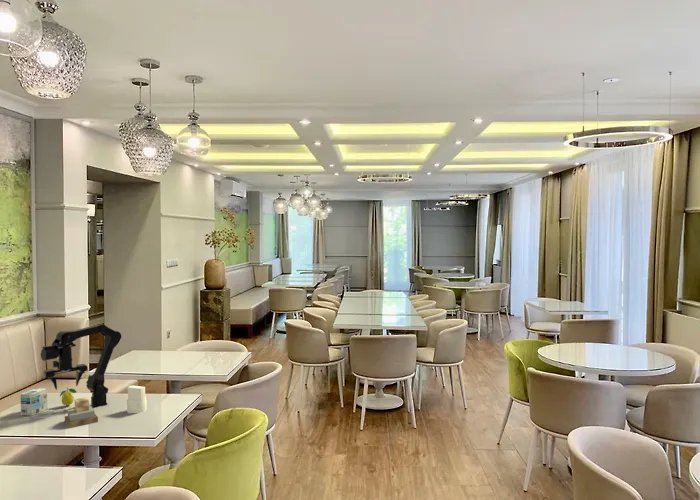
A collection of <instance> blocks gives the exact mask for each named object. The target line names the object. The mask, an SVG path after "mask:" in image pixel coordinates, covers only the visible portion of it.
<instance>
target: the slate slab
mask: <svg viewBox="0 0 700 500" xmlns="http://www.w3.org/2000/svg"><path fill="white" fill-rule="evenodd" d="M95 412H96V411H95V409H94V408H93V406H92V405H89V410H87V411H82V412H78V413H77V412H76V411H75V408H72V409H71V408H70V409H67V416H68V418H69V419H70V421H71V422H73V421H78V420H83V419H88V418H93V417H95V414H96V413H95Z"/></svg>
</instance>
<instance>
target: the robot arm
mask: <svg viewBox="0 0 700 500" xmlns="http://www.w3.org/2000/svg"><path fill="white" fill-rule="evenodd" d="M94 334H95V335H96V334H100V335H101V336H103V337H104V338H103V345H104V346H103V349H102V351H101V355H100V357H99V360H98V363H97V366H96V368H95V370H94V373H93V374H92V375H88V378H87V381H86V382H85V384H86V388H87V390H88V391H90V393H91V396H90V406H92V407H94V408H96V407H97V408H98V407H101V406H107V405H108V403H107V394H108V392H109V388H108V387H106V386H105V381H106V380H105V373H106V371H107V368H108V365H109V363H110V359H111V357H112V354H113V352H114V349H115V348H116V347H117V345H119V343H120V341H121V339H122V334H121V332H120V331H118V330H113V329H112V328H110V327H108V326H106V325H105V324H103V323H97V324H96V325H92V326H88V327H84V328H83V327H82V328H80V329H76V330H74V329H72V330H62V331H61V330H60V331H58V332H57V334H56V337H55V339H54V340H53V342H52V343H51V345H46V346H45V345H44V346H42V348H41V352H40V358H41V360H42V361H44V362H45V361H50V360H53V361H52V368H49V369H45V370H44V371H43V377H44V378H46V379H48V380H51V381H50V382H51V383H52V385H53V387H54V389H55V390H56V391H57V390H58V386H57V385H58V383H57V377H56V375H58V374H59V375H60V374H65V373H70V372H75V386H76V387H77V386H79V384H80V380H81V378H82V376H83V374H85V373H86V372H88V371H89V370H88V369H89V367H88V365H86V364H85V363H81V364H76V366H73V354H72V353H73V352H72V351H73V349H72V348H73V347H77V344H75V343H74V341H75V342H76V340H78V339H80V338H83V337H87V336H92V335H94ZM55 359H58V360H55ZM53 368H54V369H55V368H57V369H55V370H54V369H53Z"/></svg>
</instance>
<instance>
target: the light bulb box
mask: <svg viewBox="0 0 700 500" xmlns="http://www.w3.org/2000/svg"><path fill="white" fill-rule="evenodd" d="M19 397H20V415H21V416H31V417H33V416H34V415H37V414H39V413H42V412H44V411H47V410H48V409H49V406H48V402H49V401H48V388H41V387H40V388H39V387H37V388H33V389H31V390H28V391H25V392H23V393H20V395H19Z"/></svg>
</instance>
